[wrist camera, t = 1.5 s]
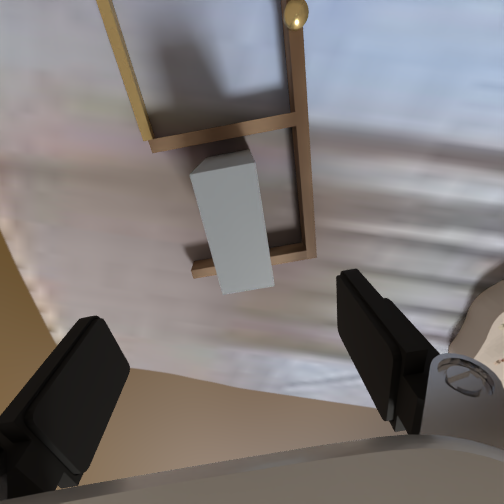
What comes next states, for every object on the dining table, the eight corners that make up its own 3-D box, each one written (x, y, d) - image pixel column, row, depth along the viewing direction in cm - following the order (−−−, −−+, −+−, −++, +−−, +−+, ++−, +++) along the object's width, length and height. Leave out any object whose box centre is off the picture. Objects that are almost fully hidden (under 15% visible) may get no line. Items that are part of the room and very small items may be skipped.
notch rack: (291, -112, 16) (300, -151, 14) (314, 248, 28) (321, 259, 26) (78, -65, 17) (52, -95, 14) (189, 270, 28) (185, 283, 26)
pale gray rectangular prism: (249, 149, 23) (255, 162, 15) (263, 238, 27) (274, 286, 19) (204, 157, 23) (187, 174, 15) (226, 244, 27) (220, 295, 19)
